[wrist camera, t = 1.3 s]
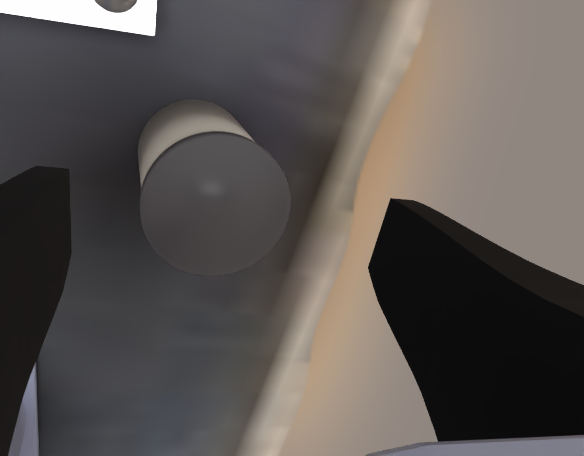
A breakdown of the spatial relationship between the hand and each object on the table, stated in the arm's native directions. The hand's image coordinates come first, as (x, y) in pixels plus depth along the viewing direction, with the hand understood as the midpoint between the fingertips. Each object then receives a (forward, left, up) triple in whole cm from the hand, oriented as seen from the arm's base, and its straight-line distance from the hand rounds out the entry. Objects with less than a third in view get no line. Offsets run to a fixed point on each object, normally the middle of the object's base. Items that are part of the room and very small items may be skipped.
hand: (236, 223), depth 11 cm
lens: (-1, 0, -10) cm, 10 cm away
